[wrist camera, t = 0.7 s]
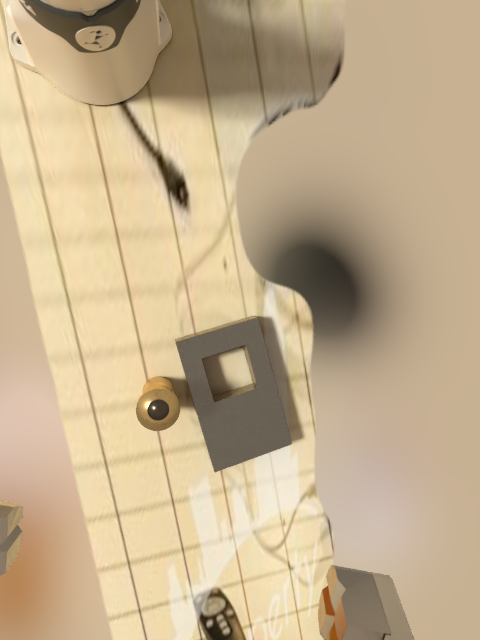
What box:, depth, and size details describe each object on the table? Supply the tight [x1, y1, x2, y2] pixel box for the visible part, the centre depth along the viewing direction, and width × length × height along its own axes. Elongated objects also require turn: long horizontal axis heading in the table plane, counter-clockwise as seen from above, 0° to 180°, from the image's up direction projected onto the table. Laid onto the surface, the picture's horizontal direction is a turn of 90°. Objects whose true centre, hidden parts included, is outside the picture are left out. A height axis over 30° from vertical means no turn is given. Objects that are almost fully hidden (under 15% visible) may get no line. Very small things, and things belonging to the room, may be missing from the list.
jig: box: [175, 316, 292, 472], centre depth 53 cm, size 18×11×2 cm, turn 15°
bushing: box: [136, 377, 180, 431], centre depth 48 cm, size 5×5×8 cm
